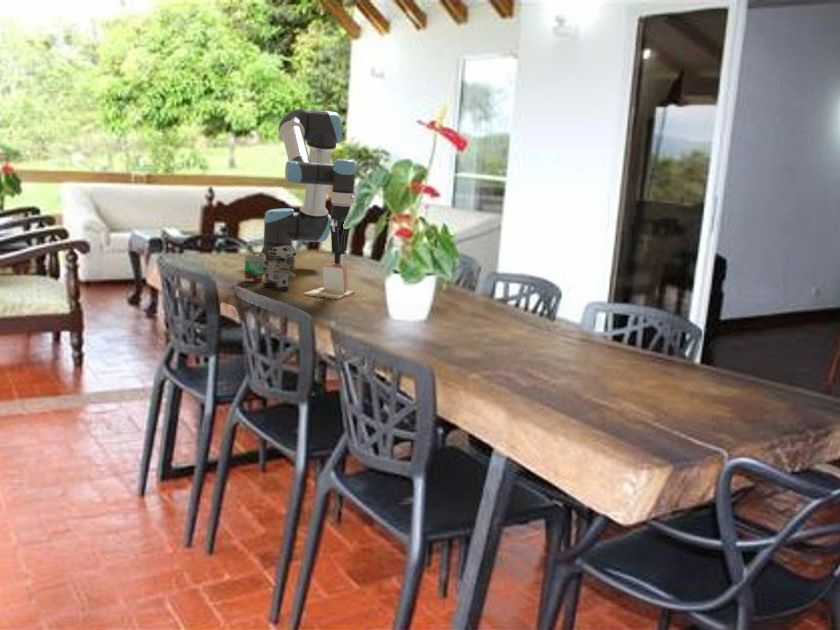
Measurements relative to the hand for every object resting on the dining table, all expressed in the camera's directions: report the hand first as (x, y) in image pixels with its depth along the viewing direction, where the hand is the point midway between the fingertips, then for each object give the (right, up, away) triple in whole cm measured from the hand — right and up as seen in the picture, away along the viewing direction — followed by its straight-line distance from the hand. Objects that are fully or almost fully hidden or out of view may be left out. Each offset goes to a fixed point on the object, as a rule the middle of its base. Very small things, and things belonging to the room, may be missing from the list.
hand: (337, 272), depth 295 cm
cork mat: (-2, -8, -4) cm, 9 cm away
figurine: (-20, -6, 0) cm, 21 cm away
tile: (-1, -6, +1) cm, 6 cm away
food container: (-30, -3, +9) cm, 32 cm away
